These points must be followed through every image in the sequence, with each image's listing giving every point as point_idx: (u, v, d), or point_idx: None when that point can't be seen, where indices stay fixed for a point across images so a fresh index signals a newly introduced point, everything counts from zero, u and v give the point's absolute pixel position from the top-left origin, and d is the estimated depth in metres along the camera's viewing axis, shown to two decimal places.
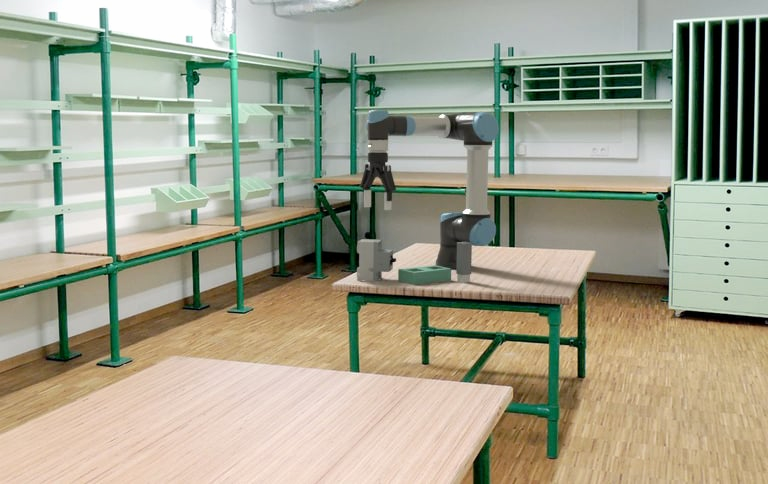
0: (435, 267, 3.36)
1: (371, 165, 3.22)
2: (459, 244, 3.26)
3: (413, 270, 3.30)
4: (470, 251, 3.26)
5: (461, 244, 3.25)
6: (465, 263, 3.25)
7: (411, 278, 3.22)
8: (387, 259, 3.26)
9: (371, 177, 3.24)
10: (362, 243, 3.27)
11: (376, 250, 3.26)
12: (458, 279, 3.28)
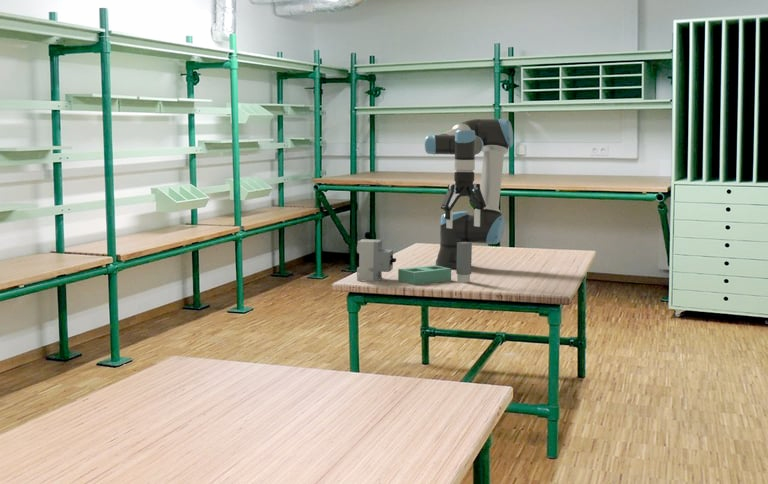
0: (435, 267, 3.36)
1: None
2: (459, 244, 3.26)
3: (413, 270, 3.30)
4: (470, 251, 3.26)
5: (461, 244, 3.25)
6: (465, 263, 3.25)
7: (411, 278, 3.22)
8: (387, 259, 3.26)
9: (469, 196, 3.27)
10: (362, 243, 3.27)
11: (376, 250, 3.26)
12: (458, 279, 3.28)
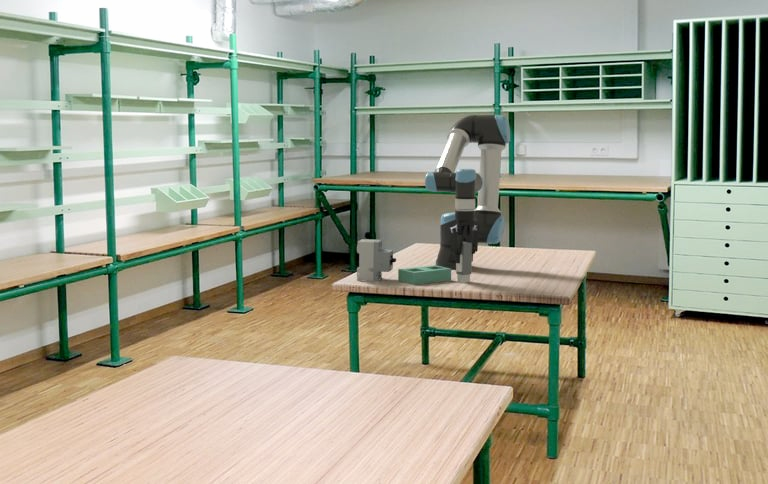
0: (435, 267, 3.36)
1: None
2: None
3: (413, 270, 3.30)
4: (470, 251, 3.26)
5: None
6: (465, 263, 3.25)
7: (411, 278, 3.22)
8: (387, 259, 3.26)
9: (466, 236, 3.27)
10: (362, 243, 3.27)
11: (376, 250, 3.26)
12: (458, 279, 3.28)
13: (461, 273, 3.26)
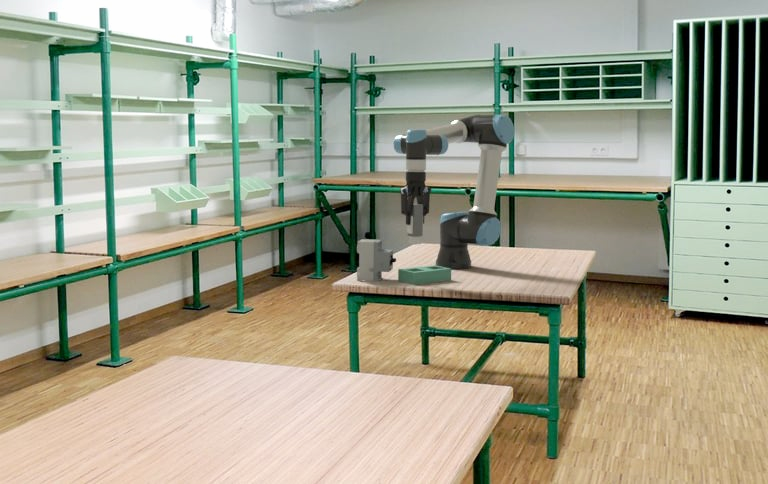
0: (435, 267, 3.36)
1: None
2: None
3: (413, 270, 3.30)
4: (421, 213, 3.23)
5: None
6: (416, 225, 3.22)
7: (411, 278, 3.22)
8: (387, 259, 3.26)
9: (417, 198, 3.24)
10: (362, 243, 3.27)
11: (376, 250, 3.26)
12: (409, 241, 3.25)
13: (412, 235, 3.23)
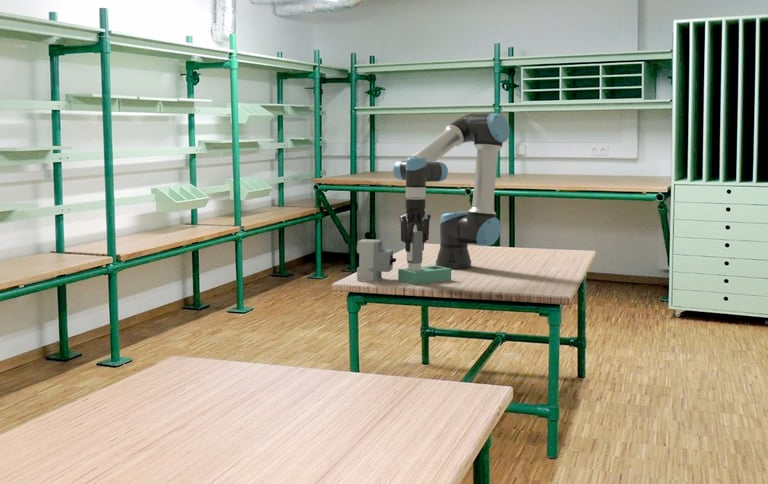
0: (435, 267, 3.36)
1: None
2: None
3: None
4: (421, 240, 3.24)
5: None
6: (416, 252, 3.23)
7: (411, 278, 3.22)
8: (387, 259, 3.26)
9: (417, 225, 3.26)
10: (362, 243, 3.27)
11: (376, 250, 3.26)
12: (409, 268, 3.26)
13: (412, 262, 3.24)
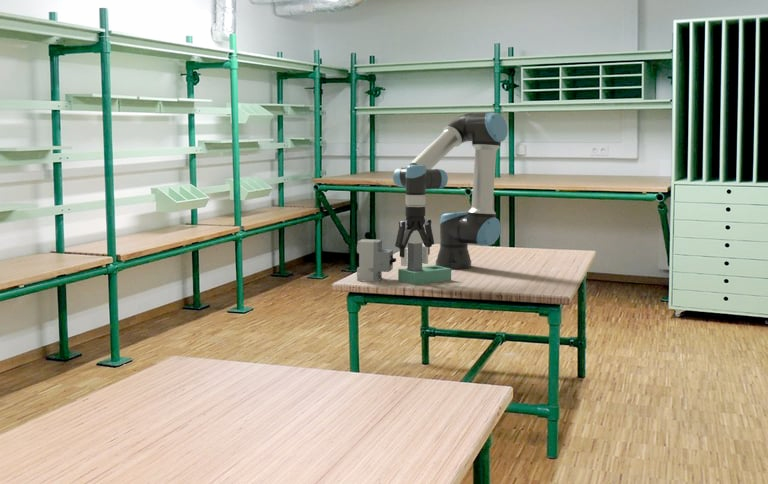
0: (435, 267, 3.36)
1: None
2: (410, 244, 3.25)
3: None
4: (421, 251, 3.25)
5: (411, 244, 3.24)
6: (416, 263, 3.24)
7: (411, 278, 3.22)
8: (387, 259, 3.26)
9: (419, 231, 3.27)
10: (362, 243, 3.27)
11: (376, 250, 3.26)
12: None
13: None
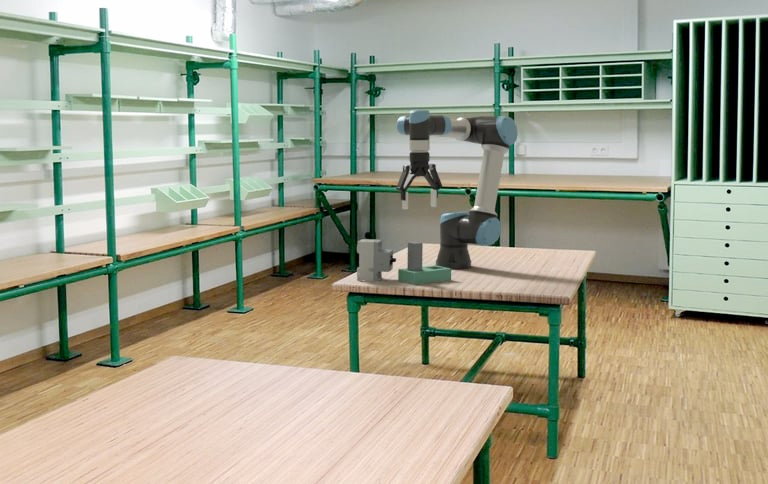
0: (435, 267, 3.36)
1: None
2: (410, 244, 3.25)
3: None
4: (421, 251, 3.25)
5: (412, 244, 3.24)
6: (416, 263, 3.24)
7: (411, 278, 3.22)
8: (387, 259, 3.26)
9: (425, 176, 3.26)
10: (362, 243, 3.27)
11: (376, 250, 3.26)
12: None
13: None
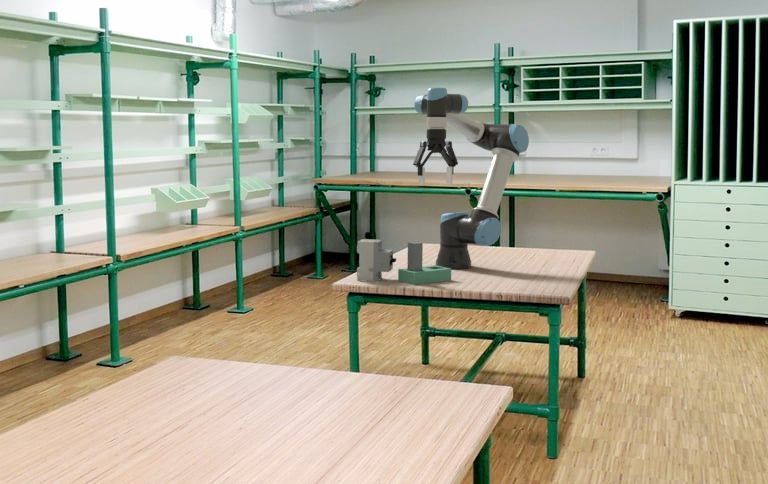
0: (435, 267, 3.36)
1: None
2: (410, 244, 3.25)
3: None
4: (421, 251, 3.25)
5: (412, 244, 3.24)
6: (416, 263, 3.24)
7: (411, 278, 3.22)
8: (387, 259, 3.26)
9: (441, 153, 3.33)
10: (362, 243, 3.27)
11: (376, 250, 3.26)
12: None
13: None
